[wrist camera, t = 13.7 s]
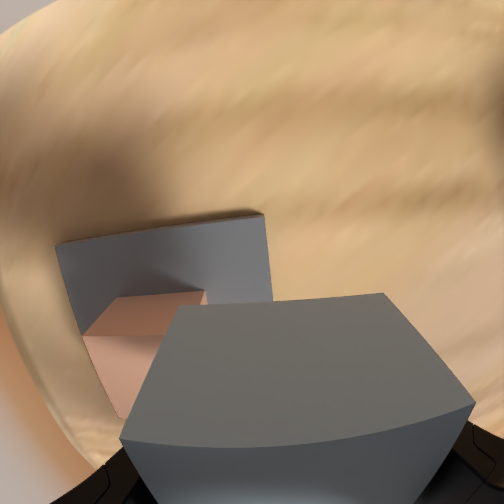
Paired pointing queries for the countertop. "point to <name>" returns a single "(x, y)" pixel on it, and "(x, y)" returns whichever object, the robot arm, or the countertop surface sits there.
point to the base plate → (168, 264)
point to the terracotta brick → (132, 341)
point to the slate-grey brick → (294, 405)
